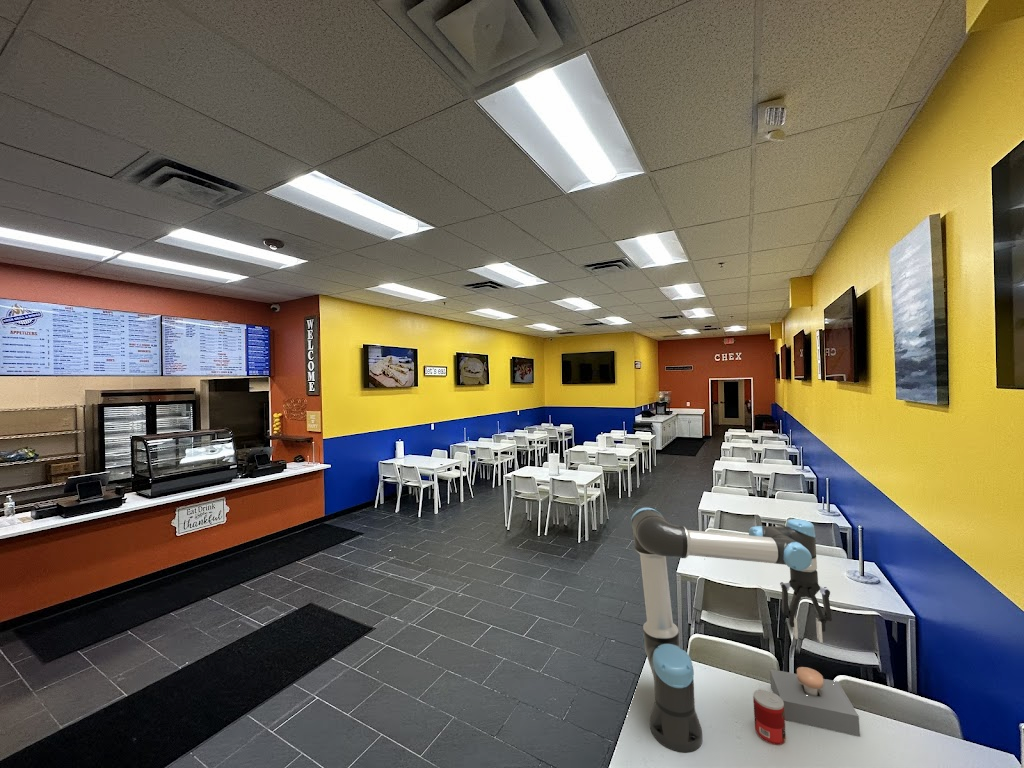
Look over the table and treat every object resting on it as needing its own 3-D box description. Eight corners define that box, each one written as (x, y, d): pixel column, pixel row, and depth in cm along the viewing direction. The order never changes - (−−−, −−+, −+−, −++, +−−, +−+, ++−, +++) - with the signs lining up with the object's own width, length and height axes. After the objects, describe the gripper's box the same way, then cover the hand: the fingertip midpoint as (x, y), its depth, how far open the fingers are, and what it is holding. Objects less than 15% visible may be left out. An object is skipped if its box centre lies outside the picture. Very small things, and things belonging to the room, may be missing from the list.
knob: (801, 703, 132) (800, 678, 132) (795, 688, 138) (794, 665, 138) (827, 708, 129) (826, 683, 129) (820, 693, 136) (818, 669, 136)
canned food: (790, 747, 119) (788, 709, 120) (760, 743, 121) (758, 705, 121) (779, 726, 127) (777, 690, 127) (751, 723, 128) (749, 687, 129)
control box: (782, 719, 130) (781, 700, 130) (770, 686, 144) (769, 669, 145) (860, 736, 122) (858, 716, 123) (839, 699, 137) (838, 681, 137)
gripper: (772, 568, 135) (776, 639, 134) (842, 576, 128) (847, 650, 127) (767, 560, 142) (771, 627, 141) (833, 566, 135) (838, 637, 134)
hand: (807, 638), depth 134 cm, fingers open, 6 cm apart
